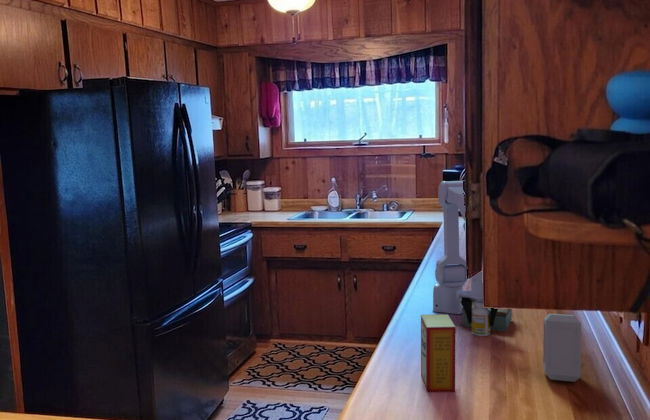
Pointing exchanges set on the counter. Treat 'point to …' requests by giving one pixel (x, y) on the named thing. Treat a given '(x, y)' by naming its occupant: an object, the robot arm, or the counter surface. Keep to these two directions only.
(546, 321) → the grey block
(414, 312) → the counter surface
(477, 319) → the supplement bottle
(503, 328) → the teal shallow tray
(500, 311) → the lid
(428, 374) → the baking soda box
